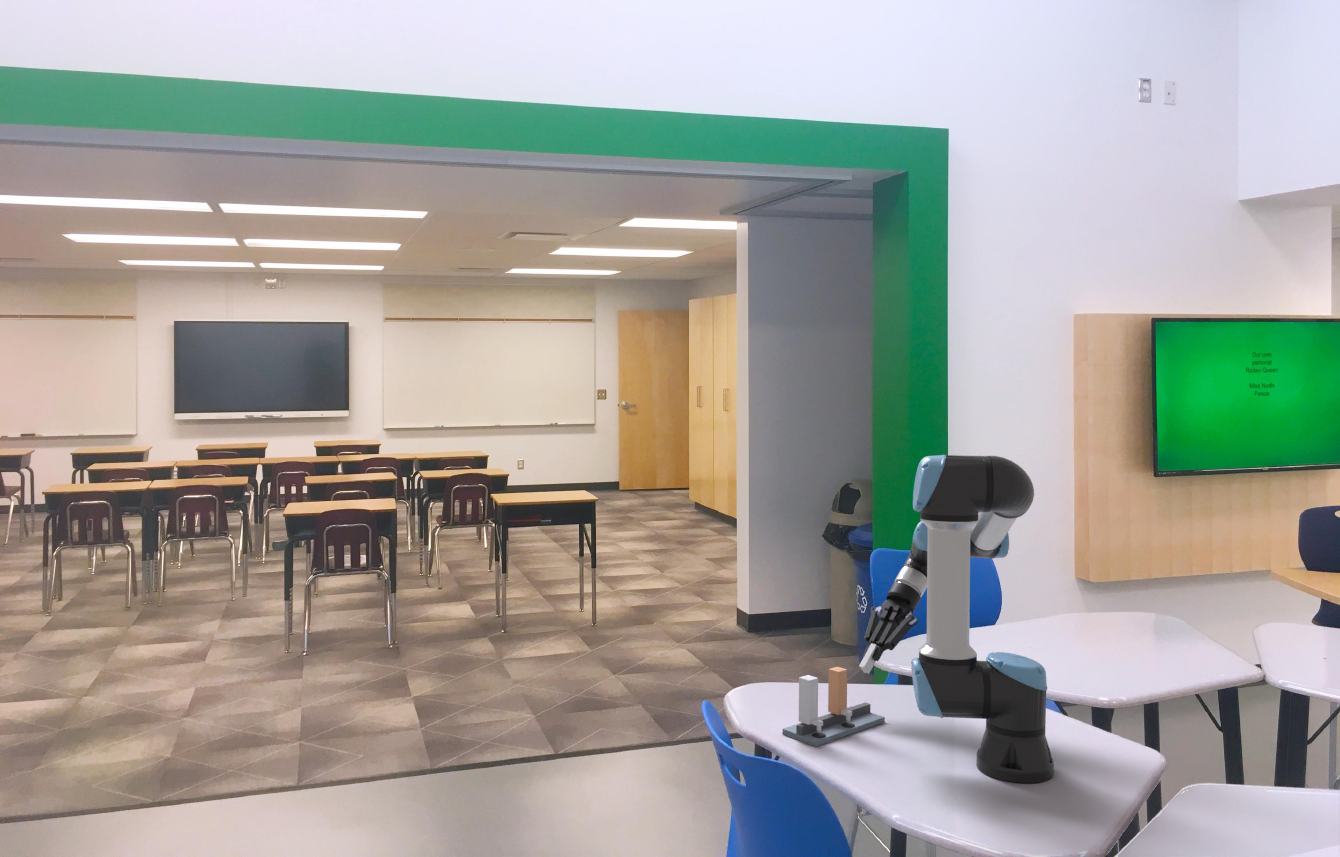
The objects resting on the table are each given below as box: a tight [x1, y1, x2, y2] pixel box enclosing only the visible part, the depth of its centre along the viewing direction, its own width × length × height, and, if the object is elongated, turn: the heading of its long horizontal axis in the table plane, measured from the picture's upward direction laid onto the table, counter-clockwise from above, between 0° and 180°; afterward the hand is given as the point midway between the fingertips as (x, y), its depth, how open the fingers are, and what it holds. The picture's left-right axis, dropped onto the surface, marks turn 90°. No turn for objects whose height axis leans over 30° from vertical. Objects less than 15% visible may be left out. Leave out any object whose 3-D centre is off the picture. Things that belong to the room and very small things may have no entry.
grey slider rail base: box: [782, 674, 886, 747], centre depth 231 cm, size 24×10×14 cm, turn 130°
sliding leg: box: [827, 666, 852, 722], centre depth 231 cm, size 3×5×11 cm, turn 40°
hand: (864, 669), depth 238 cm, fingers closed
